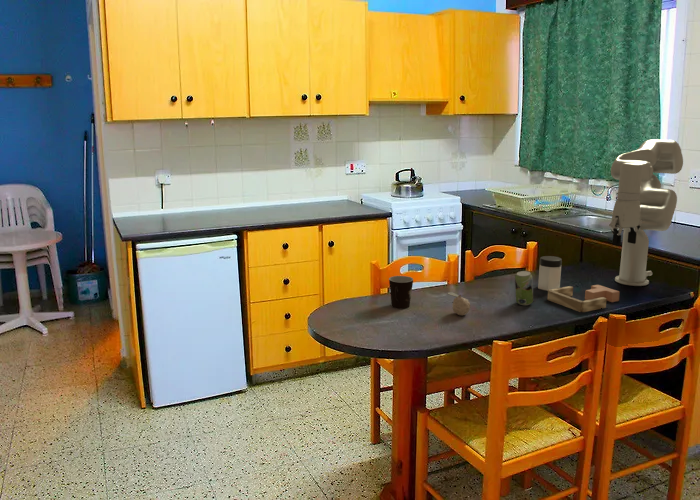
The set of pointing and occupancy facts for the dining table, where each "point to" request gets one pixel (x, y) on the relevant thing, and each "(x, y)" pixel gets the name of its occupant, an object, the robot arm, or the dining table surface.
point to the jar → (549, 272)
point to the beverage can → (524, 288)
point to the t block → (602, 293)
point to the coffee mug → (400, 291)
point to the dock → (574, 300)
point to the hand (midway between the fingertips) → (623, 243)
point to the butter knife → (454, 294)
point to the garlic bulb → (460, 305)
